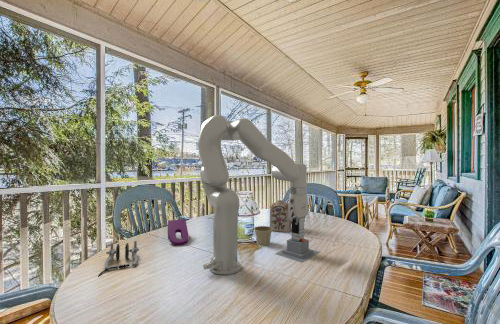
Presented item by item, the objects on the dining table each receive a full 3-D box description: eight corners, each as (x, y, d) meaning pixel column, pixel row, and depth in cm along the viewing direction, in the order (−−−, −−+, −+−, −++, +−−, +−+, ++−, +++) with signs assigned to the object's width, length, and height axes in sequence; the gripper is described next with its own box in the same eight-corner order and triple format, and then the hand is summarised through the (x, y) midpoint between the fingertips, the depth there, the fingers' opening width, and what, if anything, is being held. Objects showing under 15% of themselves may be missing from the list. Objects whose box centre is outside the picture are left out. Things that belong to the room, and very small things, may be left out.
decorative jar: (269, 231, 155) (269, 201, 155) (273, 226, 166) (273, 198, 166) (289, 232, 152) (289, 202, 152) (291, 227, 163) (291, 199, 163)
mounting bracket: (188, 254, 133) (184, 230, 149) (189, 241, 130) (185, 219, 145) (169, 256, 130) (167, 232, 145) (170, 243, 127) (167, 220, 142)
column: (299, 251, 112) (299, 218, 112) (291, 249, 115) (291, 217, 115) (304, 249, 116) (304, 217, 115) (296, 247, 118) (296, 215, 118)
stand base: (302, 265, 105) (302, 246, 105) (274, 256, 114) (274, 239, 114) (320, 254, 117) (320, 237, 117) (294, 247, 126) (294, 231, 126)
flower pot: (250, 246, 127) (250, 229, 127) (258, 241, 135) (258, 225, 135) (267, 250, 122) (268, 232, 122) (275, 244, 131) (275, 227, 131)
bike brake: (106, 255, 113) (97, 283, 94) (106, 241, 112) (97, 265, 93) (140, 252, 117) (138, 277, 99) (140, 238, 116) (138, 261, 98)
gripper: (295, 193, 106) (295, 237, 107) (314, 190, 119) (314, 229, 119) (280, 192, 111) (280, 234, 112) (300, 189, 124) (300, 226, 124)
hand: (297, 231), depth 115 cm, fingers closed on column, 4 cm apart
